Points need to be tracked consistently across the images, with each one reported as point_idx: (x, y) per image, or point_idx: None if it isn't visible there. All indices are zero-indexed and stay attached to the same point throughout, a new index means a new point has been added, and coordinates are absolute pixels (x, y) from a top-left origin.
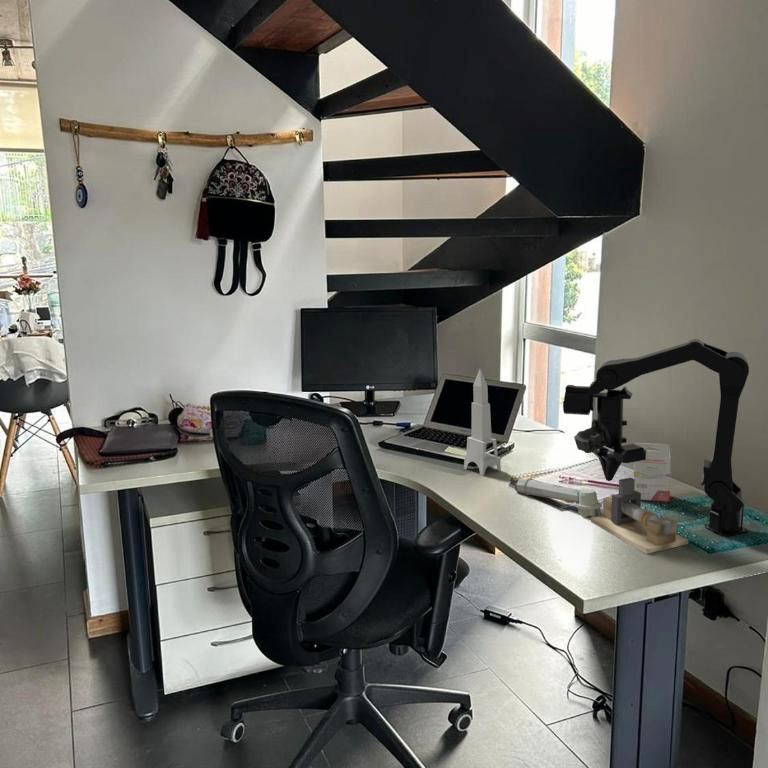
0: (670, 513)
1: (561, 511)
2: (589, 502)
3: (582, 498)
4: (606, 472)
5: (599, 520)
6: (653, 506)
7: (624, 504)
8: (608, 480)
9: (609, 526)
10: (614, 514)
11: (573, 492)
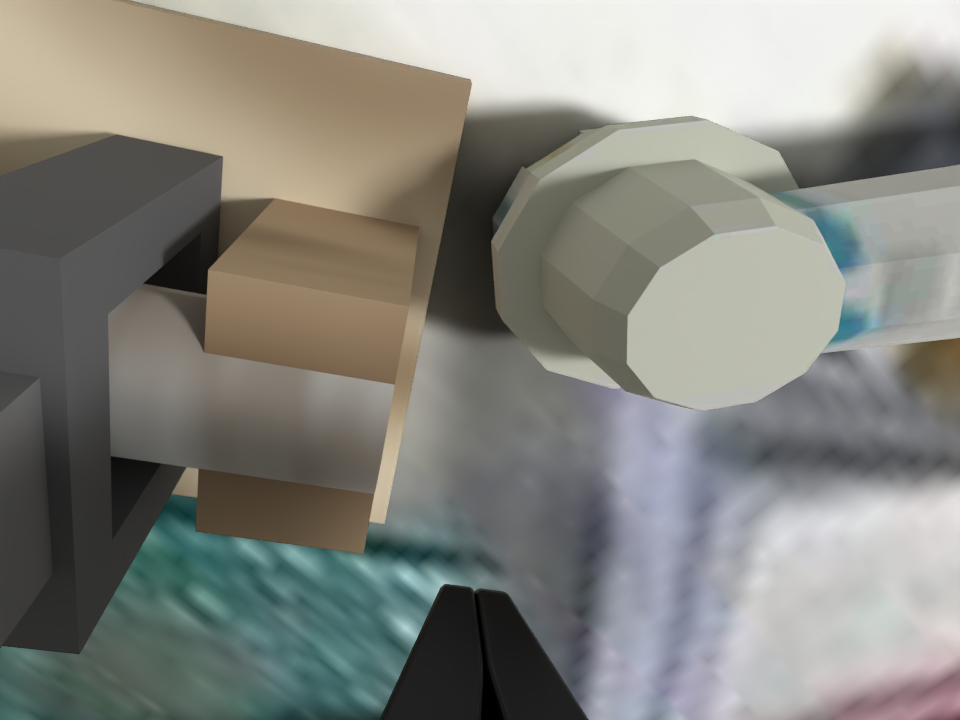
0: (215, 688)
1: (886, 52)
2: (597, 208)
3: (714, 189)
4: (461, 718)
5: (355, 100)
6: (380, 695)
7: None
8: (440, 593)
9: (149, 45)
10: (123, 165)
11: (920, 228)
